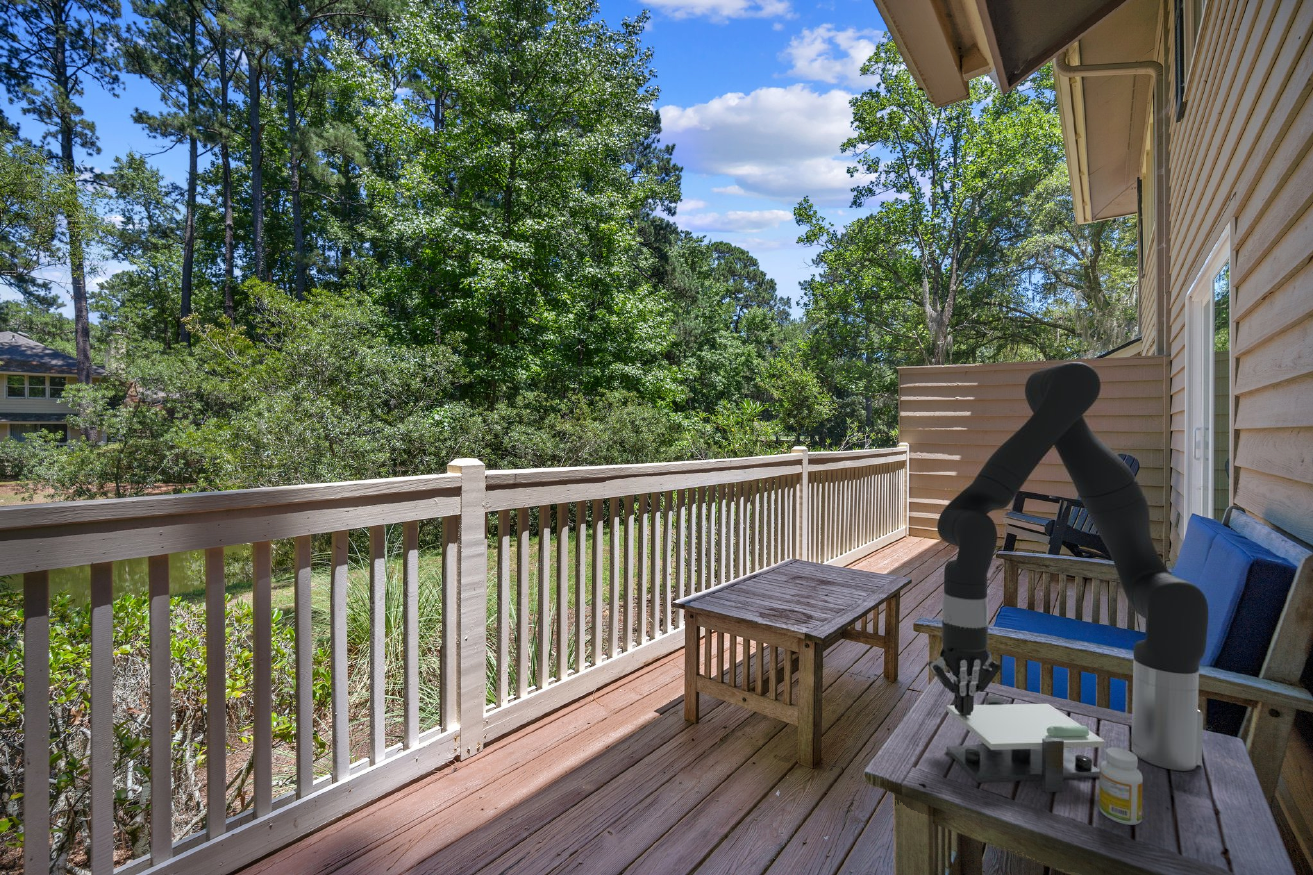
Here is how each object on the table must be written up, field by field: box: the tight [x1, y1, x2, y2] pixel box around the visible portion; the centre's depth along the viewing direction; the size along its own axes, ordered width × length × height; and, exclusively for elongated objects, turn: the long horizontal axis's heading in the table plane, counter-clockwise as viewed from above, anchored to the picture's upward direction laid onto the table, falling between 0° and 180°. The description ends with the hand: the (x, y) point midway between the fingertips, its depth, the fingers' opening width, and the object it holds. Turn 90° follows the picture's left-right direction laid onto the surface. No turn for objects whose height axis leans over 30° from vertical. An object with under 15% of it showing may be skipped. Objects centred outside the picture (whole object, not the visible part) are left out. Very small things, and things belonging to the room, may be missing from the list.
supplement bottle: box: [1098, 746, 1144, 826], centre depth 98 cm, size 5×5×10 cm
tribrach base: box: [946, 695, 1100, 793], centre depth 113 cm, size 22×17×8 cm
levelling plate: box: [946, 703, 1106, 750], centre depth 113 cm, size 20×14×3 cm
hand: (963, 713), depth 115 cm, fingers closed
